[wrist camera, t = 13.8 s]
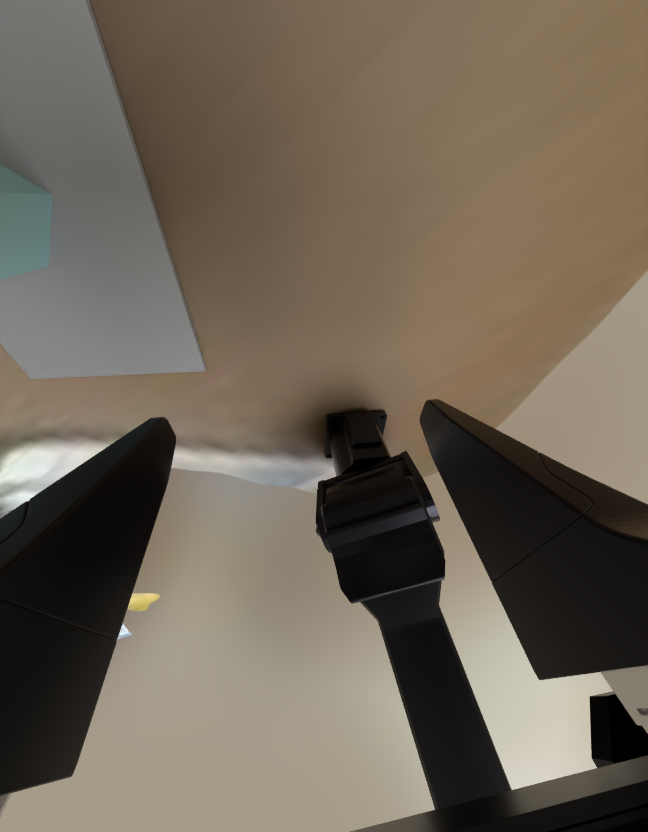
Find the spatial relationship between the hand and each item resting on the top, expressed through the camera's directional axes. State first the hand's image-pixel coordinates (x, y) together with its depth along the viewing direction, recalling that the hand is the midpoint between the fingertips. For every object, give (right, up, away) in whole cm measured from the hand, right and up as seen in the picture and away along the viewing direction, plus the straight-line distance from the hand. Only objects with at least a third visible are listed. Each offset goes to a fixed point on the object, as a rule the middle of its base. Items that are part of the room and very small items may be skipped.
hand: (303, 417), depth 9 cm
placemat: (-15, +11, +6) cm, 19 cm away
